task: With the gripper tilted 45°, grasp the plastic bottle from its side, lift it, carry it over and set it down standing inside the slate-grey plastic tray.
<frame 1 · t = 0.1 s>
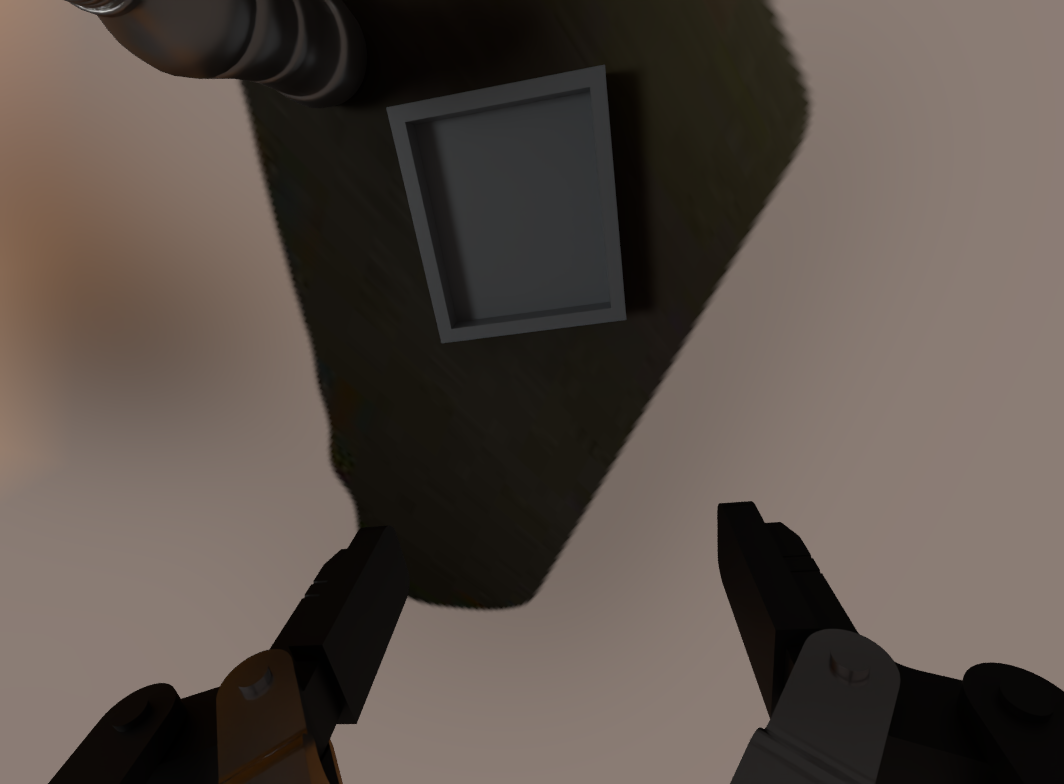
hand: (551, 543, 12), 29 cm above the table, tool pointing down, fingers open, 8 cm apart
plastic bottle: (331, 57, 34), on the table
tray: (518, 216, 37), on the table
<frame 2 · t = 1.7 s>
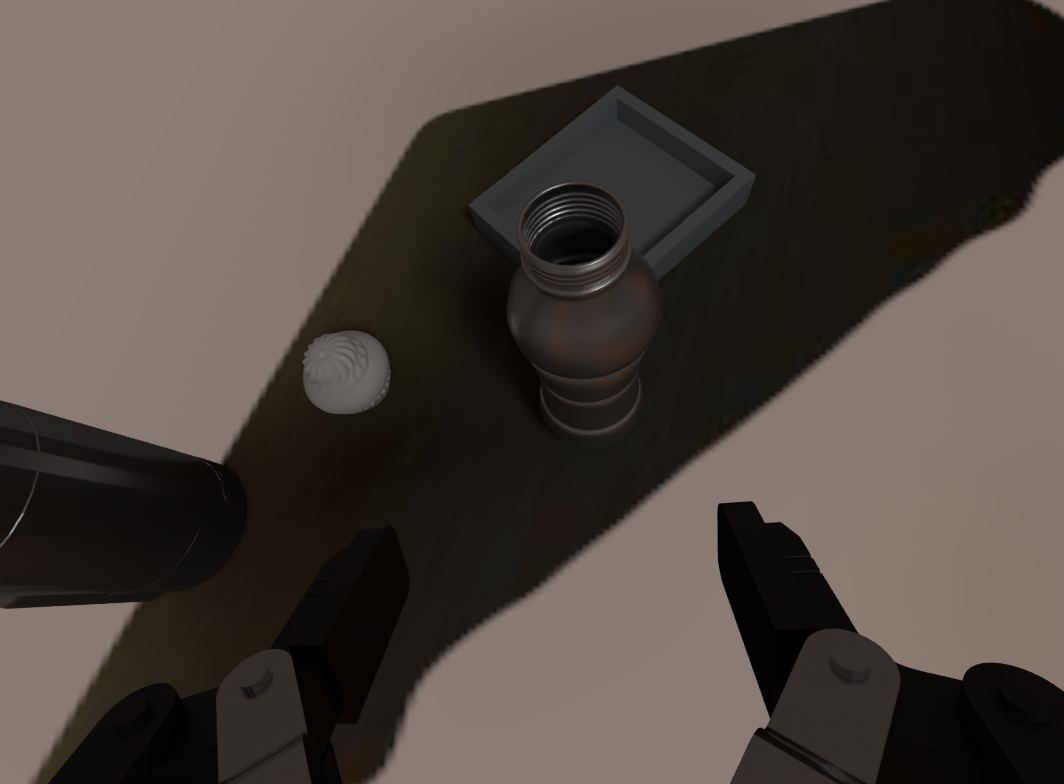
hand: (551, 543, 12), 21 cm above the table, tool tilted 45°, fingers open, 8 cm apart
plastic bottle: (592, 411, 35), on the table
tray: (606, 217, 40), on the table
muffin: (369, 389, 38), on the table
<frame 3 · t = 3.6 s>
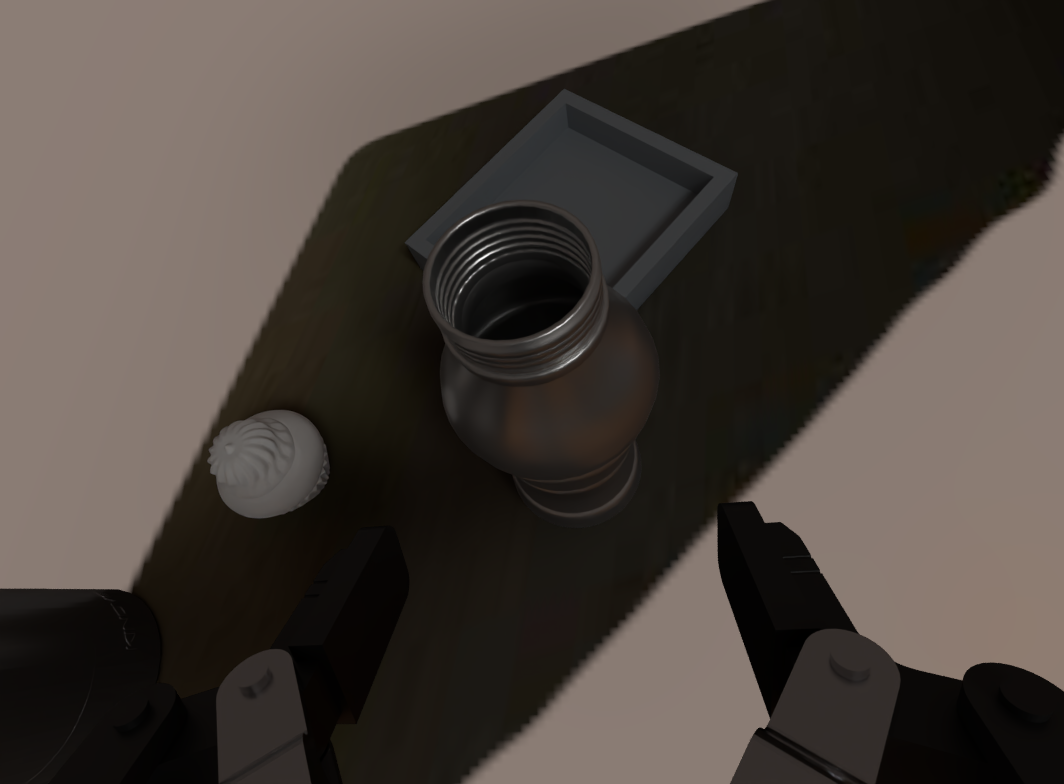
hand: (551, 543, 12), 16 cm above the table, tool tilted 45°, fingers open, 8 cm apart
plastic bottle: (579, 475, 29), on the table
tray: (569, 239, 35), on the table
muffin: (307, 475, 32), on the table
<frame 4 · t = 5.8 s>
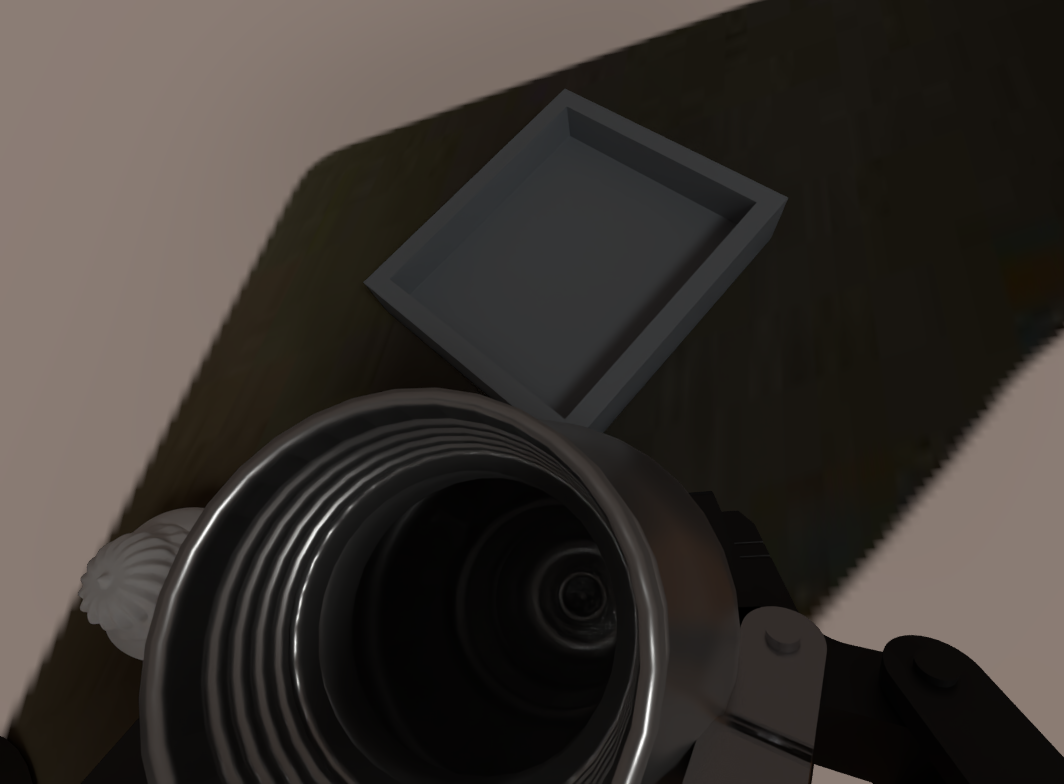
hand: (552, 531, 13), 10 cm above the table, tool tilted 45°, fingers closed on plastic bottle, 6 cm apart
plastic bottle: (584, 595, 22), on the table, touching gripper
tray: (571, 276, 28), on the table
muffin: (236, 581, 25), on the table
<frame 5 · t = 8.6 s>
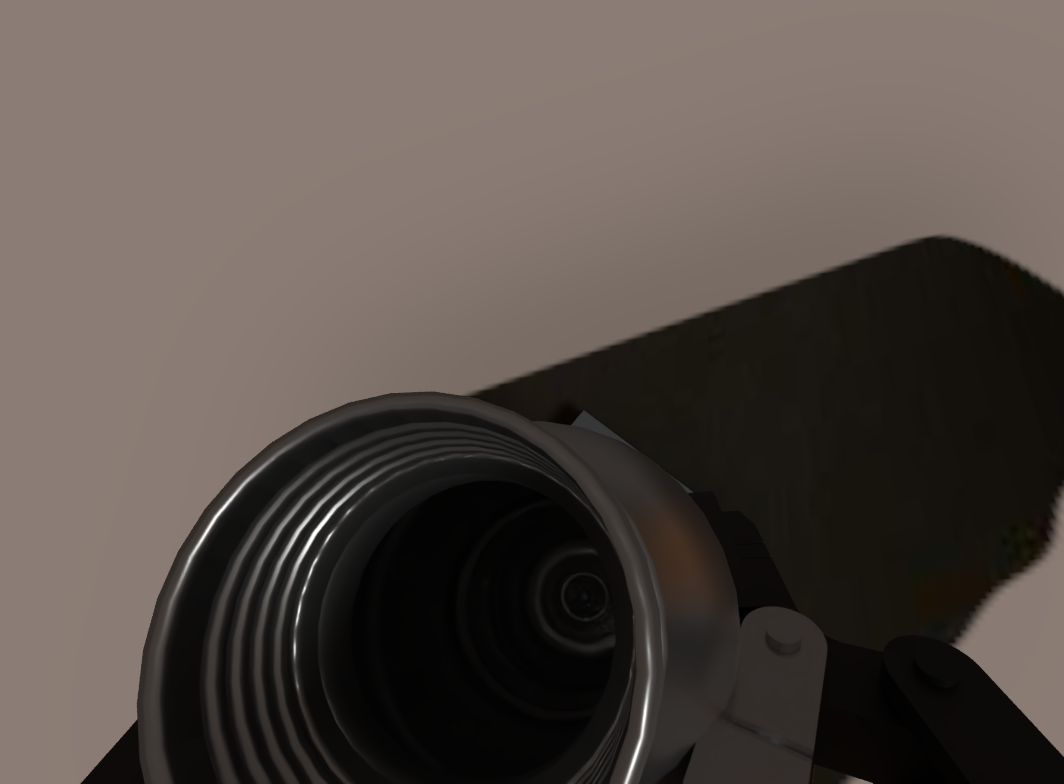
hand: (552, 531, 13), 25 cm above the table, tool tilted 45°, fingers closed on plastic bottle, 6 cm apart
plastic bottle: (586, 596, 22), point 15 cm above the table, touching gripper
tray: (592, 563, 36), on the table
when the fingers open (13 cm above the table, at t = 11.8 s): plastic bottle drops 1 cm, resting on tray.
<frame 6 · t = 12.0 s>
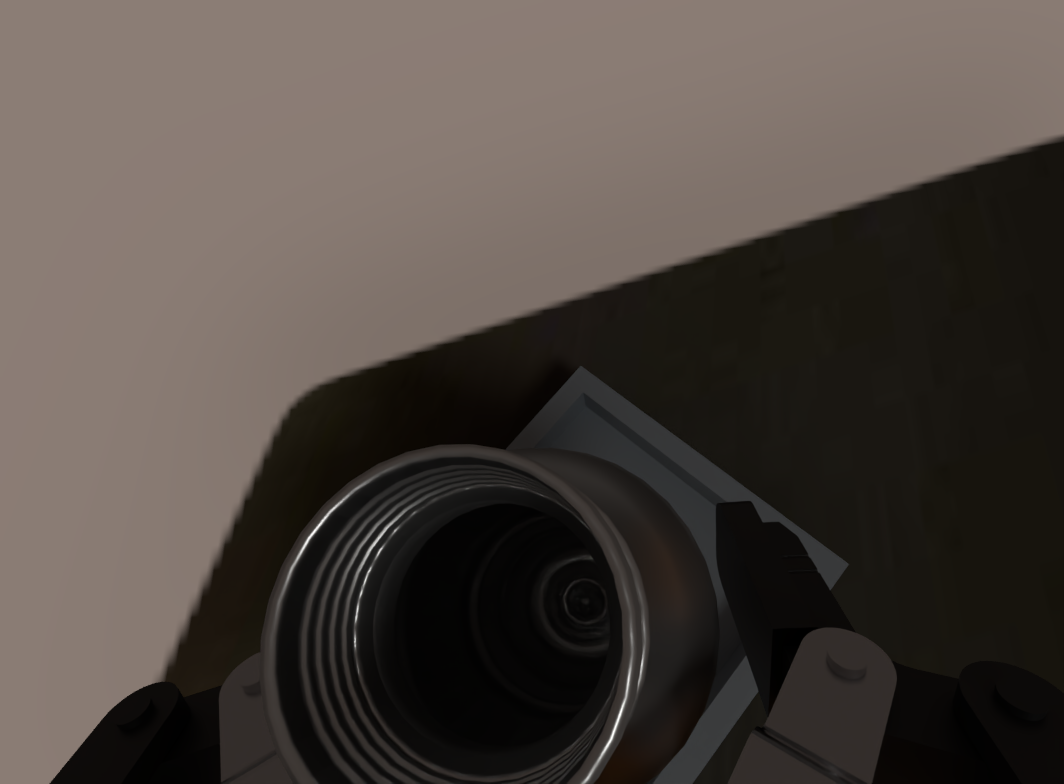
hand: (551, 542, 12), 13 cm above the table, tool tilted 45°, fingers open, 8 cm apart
plastic bottle: (587, 600, 23), point 1 cm above the table, touching tray
tray: (588, 595, 24), on the table
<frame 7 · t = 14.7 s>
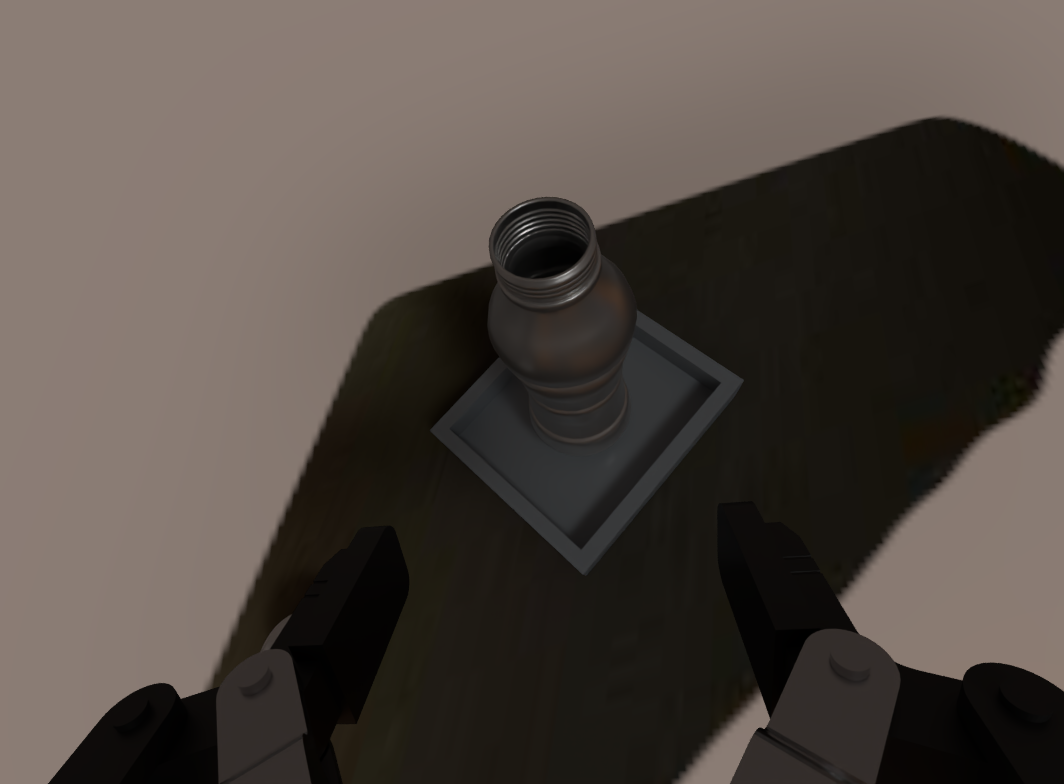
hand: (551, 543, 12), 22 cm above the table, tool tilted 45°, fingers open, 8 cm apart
plastic bottle: (583, 419, 36), point 1 cm above the table, touching tray
tray: (584, 420, 37), on the table
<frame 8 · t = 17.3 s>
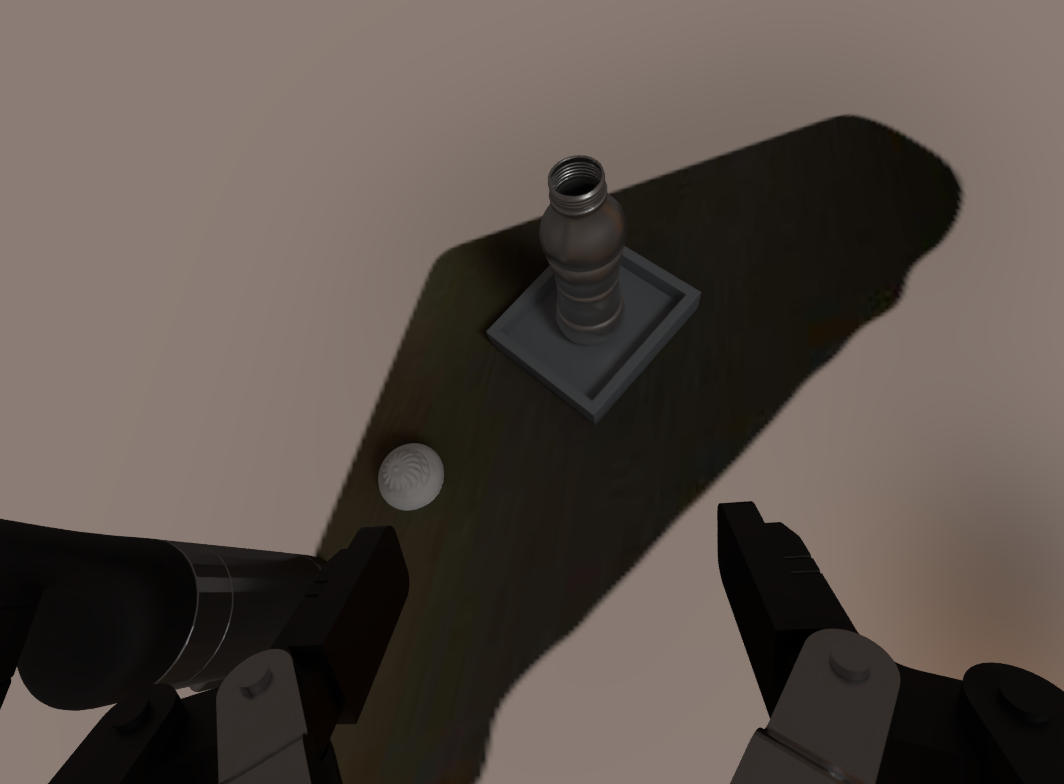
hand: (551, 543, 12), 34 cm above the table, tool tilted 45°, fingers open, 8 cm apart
plastic bottle: (592, 325, 51), point 1 cm above the table, touching tray
tray: (592, 327, 52), on the table
muffin: (425, 483, 49), on the table
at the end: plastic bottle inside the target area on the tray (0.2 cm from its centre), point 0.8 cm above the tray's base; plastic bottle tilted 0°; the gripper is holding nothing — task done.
